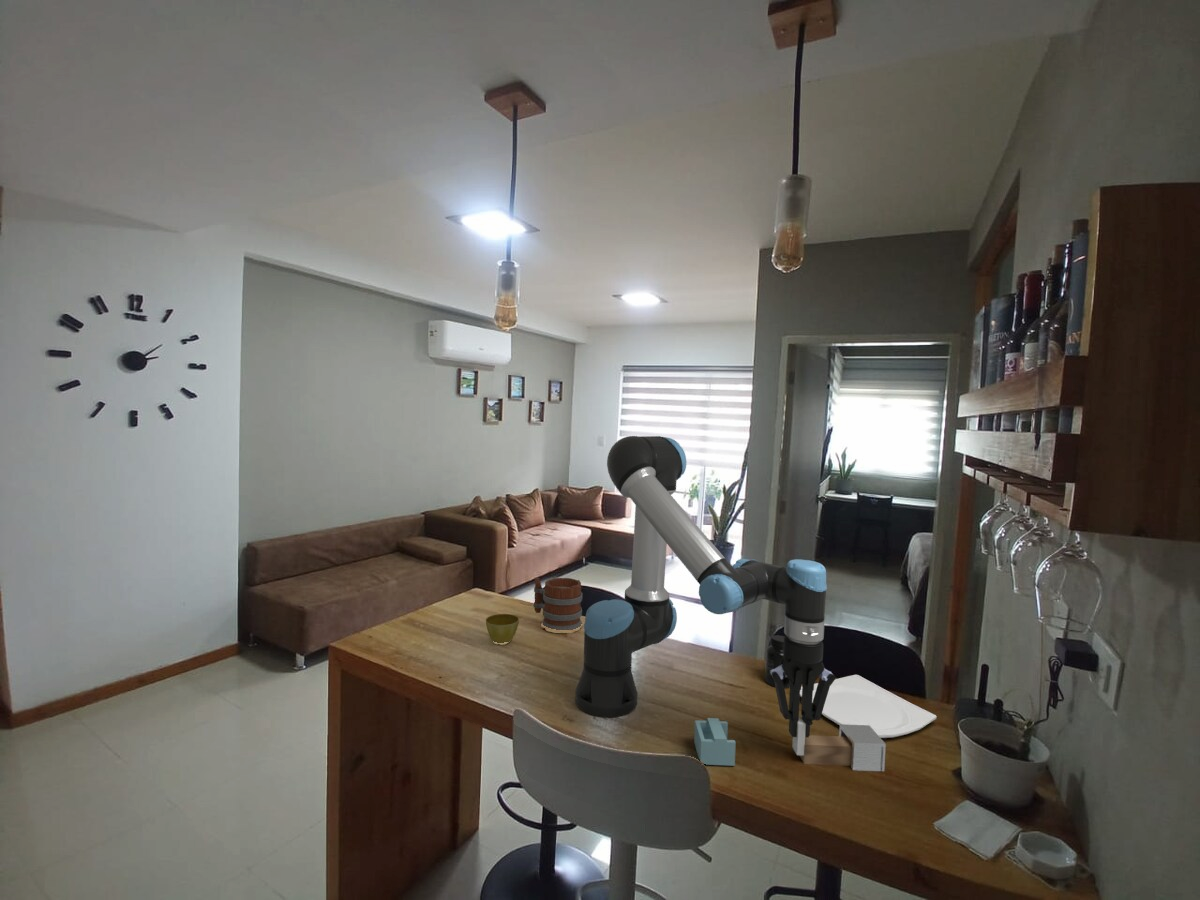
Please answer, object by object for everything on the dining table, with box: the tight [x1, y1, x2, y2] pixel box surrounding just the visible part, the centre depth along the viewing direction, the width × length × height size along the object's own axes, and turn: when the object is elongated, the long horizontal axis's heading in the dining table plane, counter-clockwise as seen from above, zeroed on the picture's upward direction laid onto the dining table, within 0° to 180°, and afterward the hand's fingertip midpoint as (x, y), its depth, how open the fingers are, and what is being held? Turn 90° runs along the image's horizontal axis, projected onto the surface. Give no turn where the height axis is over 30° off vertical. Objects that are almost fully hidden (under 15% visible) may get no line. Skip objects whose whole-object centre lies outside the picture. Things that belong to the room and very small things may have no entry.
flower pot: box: [485, 613, 520, 643], centre depth 163 cm, size 10×10×7 cm
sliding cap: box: [693, 717, 737, 767], centre depth 109 cm, size 7×8×5 cm
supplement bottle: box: [764, 635, 790, 689], centre depth 142 cm, size 7×7×12 cm
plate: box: [800, 674, 938, 739], centre depth 129 cm, size 24×24×3 cm
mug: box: [533, 577, 583, 630], centre depth 178 cm, size 14×19×15 cm
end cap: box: [838, 724, 887, 772], centre depth 109 cm, size 6×7×6 cm
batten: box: [798, 734, 852, 767], centre depth 109 cm, size 12×4×4 cm, turn 89°
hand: (798, 751), depth 109 cm, fingers closed
